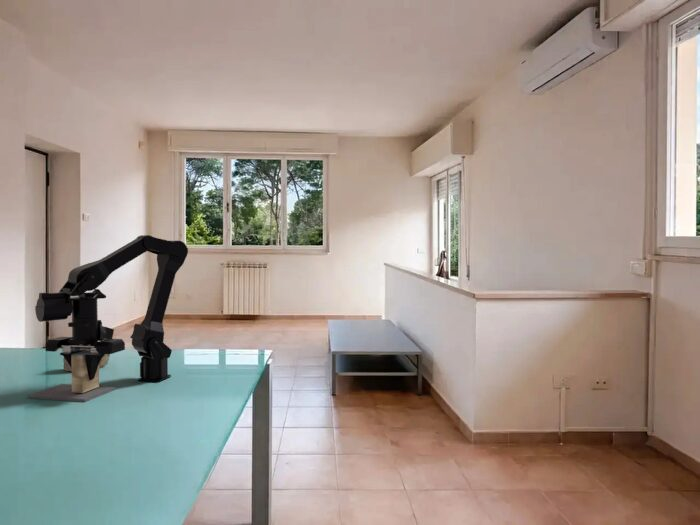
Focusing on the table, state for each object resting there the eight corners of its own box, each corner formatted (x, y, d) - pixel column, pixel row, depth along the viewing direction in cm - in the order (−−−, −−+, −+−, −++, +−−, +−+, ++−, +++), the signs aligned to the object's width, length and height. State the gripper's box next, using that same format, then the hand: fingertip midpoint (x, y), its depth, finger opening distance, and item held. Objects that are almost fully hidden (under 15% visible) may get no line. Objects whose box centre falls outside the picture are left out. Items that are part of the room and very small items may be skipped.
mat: (115, 389, 133) (115, 387, 133) (84, 401, 122) (84, 399, 122) (61, 386, 136) (61, 383, 136) (27, 397, 125) (27, 395, 125)
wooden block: (99, 386, 132) (98, 350, 132) (82, 393, 126) (81, 354, 126) (88, 385, 132) (88, 349, 132) (71, 392, 127) (71, 354, 126)
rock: (57, 370, 148) (70, 336, 150) (59, 368, 154) (71, 336, 156) (102, 379, 152) (113, 346, 155) (102, 377, 158) (113, 346, 161)
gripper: (137, 314, 135) (138, 373, 135) (75, 312, 138) (76, 369, 139) (109, 320, 124) (110, 384, 124) (43, 318, 128) (44, 380, 128)
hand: (85, 379), depth 129 cm, fingers closed on wooden block, 3 cm apart
